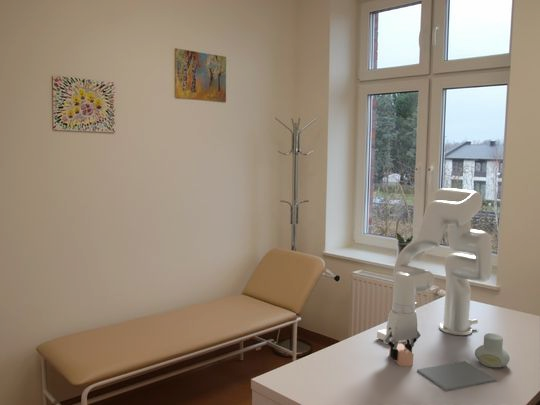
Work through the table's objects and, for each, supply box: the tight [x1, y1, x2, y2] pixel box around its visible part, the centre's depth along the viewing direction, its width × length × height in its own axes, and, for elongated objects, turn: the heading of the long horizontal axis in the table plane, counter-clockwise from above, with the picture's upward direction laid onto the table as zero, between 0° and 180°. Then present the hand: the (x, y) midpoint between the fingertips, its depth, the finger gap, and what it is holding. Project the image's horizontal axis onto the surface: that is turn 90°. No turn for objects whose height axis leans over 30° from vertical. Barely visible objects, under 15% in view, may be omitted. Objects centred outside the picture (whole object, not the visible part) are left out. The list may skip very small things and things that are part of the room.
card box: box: [388, 342, 414, 367], centre depth 174 cm, size 4×9×4 cm, turn 11°
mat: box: [416, 360, 497, 392], centre depth 163 cm, size 20×14×1 cm
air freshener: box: [474, 333, 511, 369], centre depth 171 cm, size 11×8×10 cm
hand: (400, 357), depth 174 cm, fingers closed on card box, 5 cm apart
